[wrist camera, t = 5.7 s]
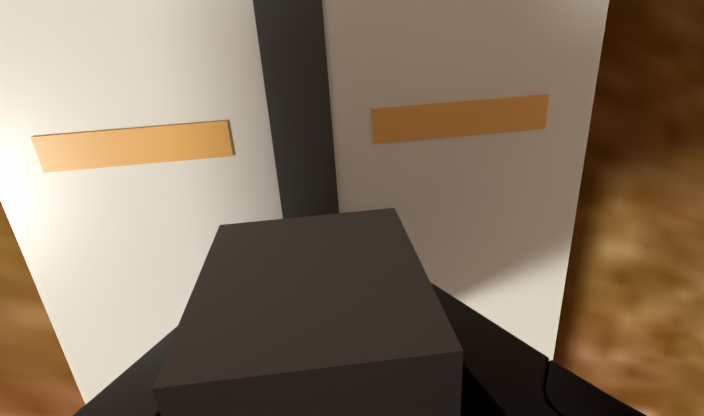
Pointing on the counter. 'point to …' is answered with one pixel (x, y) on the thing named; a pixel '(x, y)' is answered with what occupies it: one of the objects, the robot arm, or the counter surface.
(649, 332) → the counter surface
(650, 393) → the counter surface
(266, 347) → the fader knob
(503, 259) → the fader panel
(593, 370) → the counter surface
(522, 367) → the robot arm
